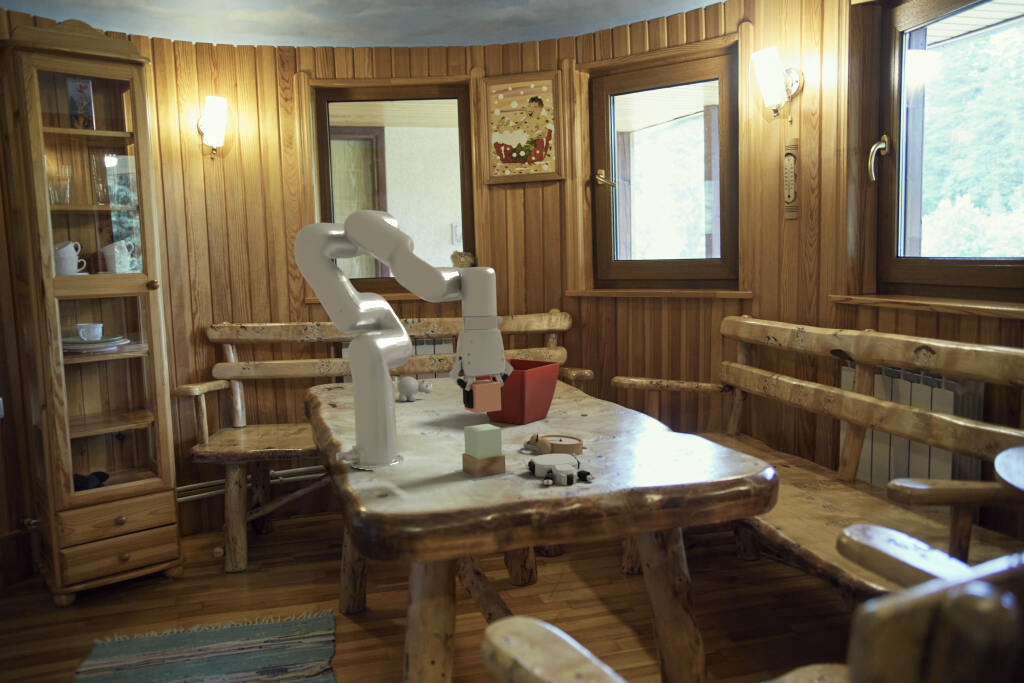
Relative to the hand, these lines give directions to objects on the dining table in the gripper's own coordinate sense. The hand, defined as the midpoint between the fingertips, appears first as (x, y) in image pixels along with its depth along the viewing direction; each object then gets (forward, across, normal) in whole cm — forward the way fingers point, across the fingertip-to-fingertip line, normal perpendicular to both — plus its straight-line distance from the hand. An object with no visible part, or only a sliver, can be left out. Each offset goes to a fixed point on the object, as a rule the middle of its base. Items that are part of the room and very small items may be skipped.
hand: (482, 405), depth 173 cm
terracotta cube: (+1, 0, 0) cm, 1 cm away
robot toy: (+17, -12, +12) cm, 24 cm away
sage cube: (+11, 0, 0) cm, 11 cm away
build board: (+16, 0, 0) cm, 16 cm away
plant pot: (+16, -38, -50) cm, 65 cm away
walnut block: (+15, 0, 0) cm, 15 cm away
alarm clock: (+17, -24, -10) cm, 31 cm away
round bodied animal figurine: (+16, -26, -100) cm, 105 cm away
